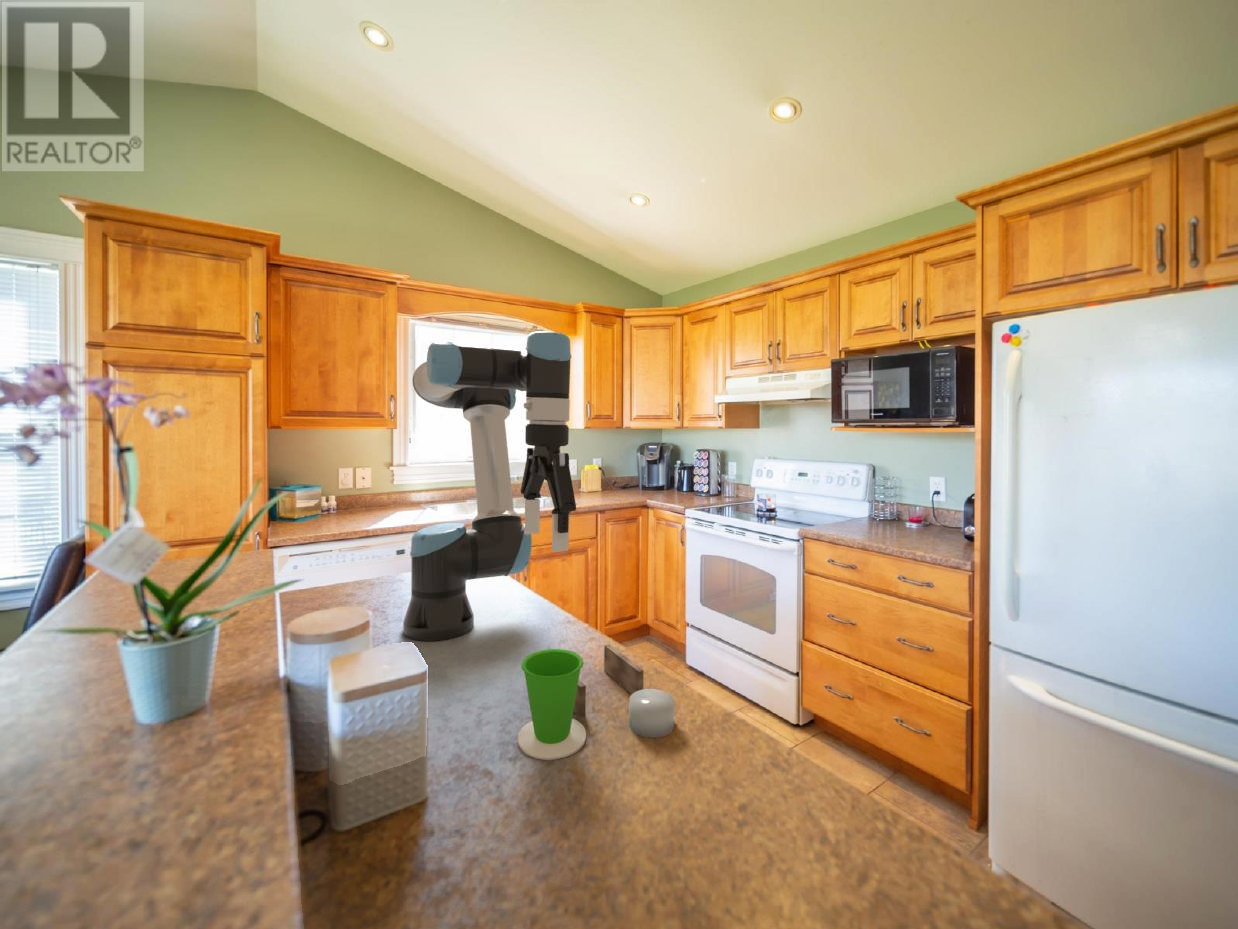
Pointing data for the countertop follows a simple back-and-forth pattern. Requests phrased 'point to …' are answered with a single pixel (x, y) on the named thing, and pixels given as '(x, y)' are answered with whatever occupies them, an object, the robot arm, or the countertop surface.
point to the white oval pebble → (551, 751)
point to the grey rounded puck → (651, 713)
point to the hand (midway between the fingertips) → (545, 541)
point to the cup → (552, 691)
